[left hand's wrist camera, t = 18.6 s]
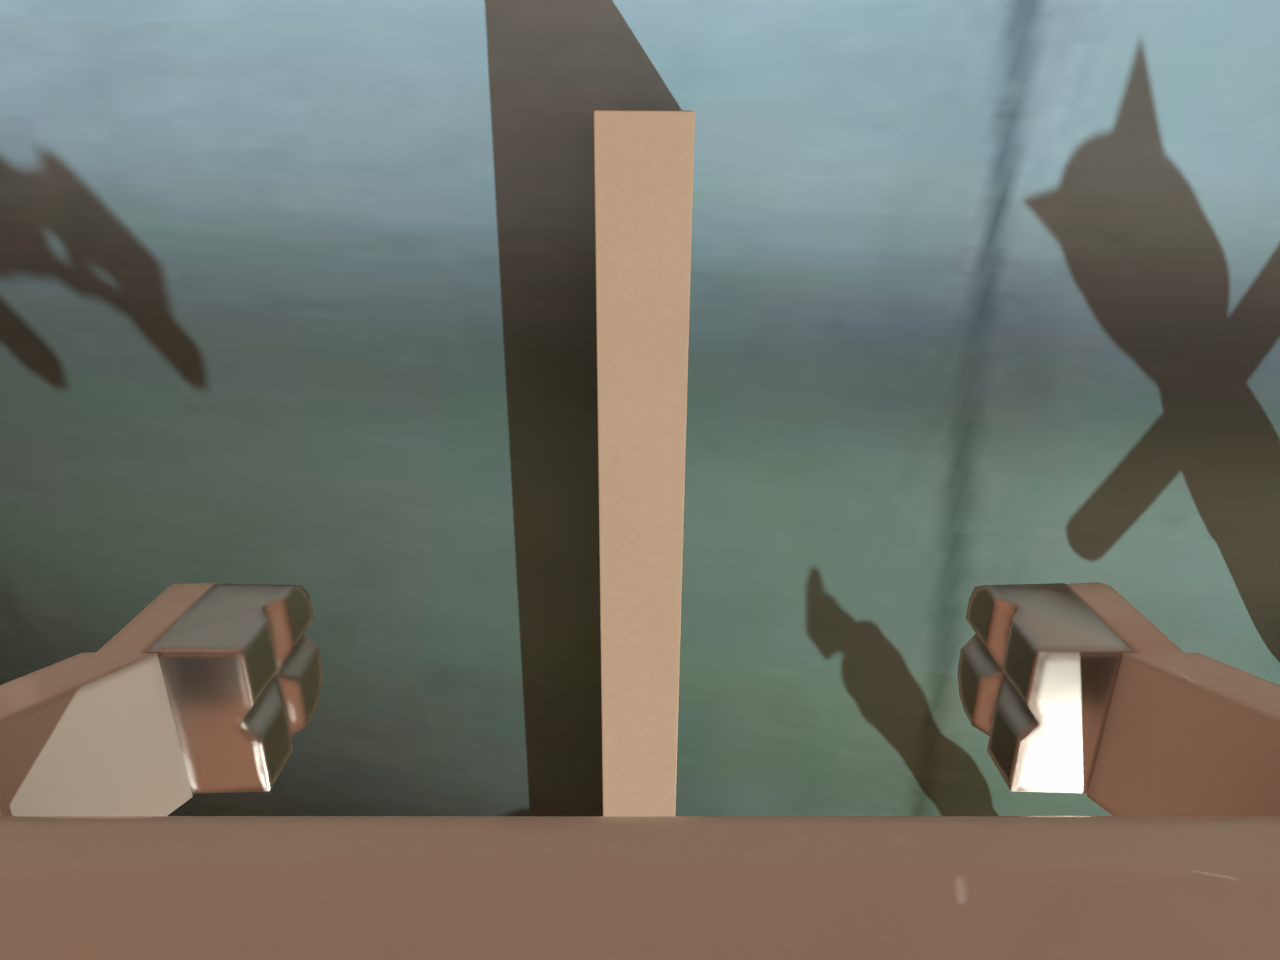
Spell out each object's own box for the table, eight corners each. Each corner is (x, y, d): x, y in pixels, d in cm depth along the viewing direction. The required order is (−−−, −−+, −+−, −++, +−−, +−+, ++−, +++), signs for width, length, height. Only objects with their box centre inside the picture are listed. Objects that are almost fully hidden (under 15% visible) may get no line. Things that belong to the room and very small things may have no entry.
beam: (600, 116, 45) (593, 110, 38) (686, 117, 45) (694, 110, 38) (609, 980, 69) (606, 1071, 62) (665, 980, 69) (668, 1072, 62)
